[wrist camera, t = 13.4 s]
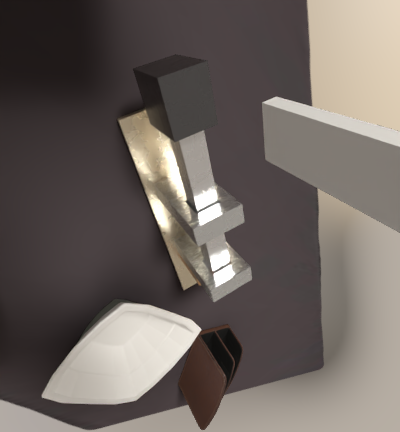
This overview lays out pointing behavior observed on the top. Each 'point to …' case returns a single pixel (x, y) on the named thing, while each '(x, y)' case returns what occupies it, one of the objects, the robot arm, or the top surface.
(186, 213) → the frame
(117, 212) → the top surface
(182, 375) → the letter holder
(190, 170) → the shaft
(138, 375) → the bowl
